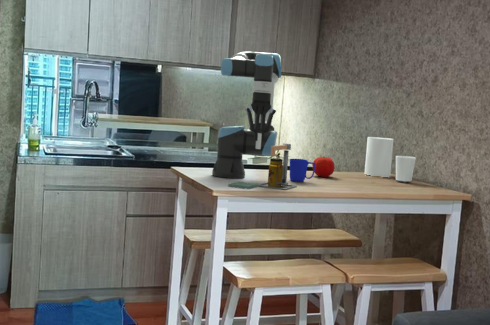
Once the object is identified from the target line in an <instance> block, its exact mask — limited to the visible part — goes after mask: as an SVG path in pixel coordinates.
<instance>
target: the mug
mask: <svg viewBox="0 0 490 325" xmlns="http://www.w3.org/2000/svg"><path fill="white" fill-rule="evenodd" d="M310 164H311V165H312V164H314V169H313V168H312V170H313V171H312V174H311V176H309V177H308V176H307V170H308V165H310ZM315 166H316V163H313V162H312V161H311V162H310V161H309V160H308V159H303V158H289V180H290V181H291V182H295V183H296V182H297V183H301V182H304V181H305V180H306V179H308V180H310V179H312V178H313V177H314V174H315V173H314V172H315Z"/></svg>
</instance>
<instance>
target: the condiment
mask: <svg viewBox="0 0 490 325" xmlns="http://www.w3.org/2000/svg"><path fill="white" fill-rule="evenodd" d="M269 161H270V162H269V166H268V176H267V182H268V184H265V185H264V186H269V187H277V188H287V186H284V185H282V175H283V159H282V158H276V157H275V158H272V157H271V158H270V159H269Z"/></svg>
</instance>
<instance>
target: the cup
mask: <svg viewBox="0 0 490 325" xmlns="http://www.w3.org/2000/svg"><path fill="white" fill-rule="evenodd" d="M416 160H417V158H416V157H415V156H410V155H409V156H408V155H395V180H396V182H397V183H403V184H406V183H407V182H408V183H407V184H411V183H412V180H413V175H414V169H415V165H416Z"/></svg>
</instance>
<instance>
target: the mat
mask: <svg viewBox="0 0 490 325" xmlns="http://www.w3.org/2000/svg"><path fill="white" fill-rule="evenodd" d="M258 184H259V183H250V182H243V181H235V182H232V183H228V185H227V187H229V186H233V187H232V188H237V187H239V188H238V189H244V188H247V190H250V189H253V188H259V187H258Z"/></svg>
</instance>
